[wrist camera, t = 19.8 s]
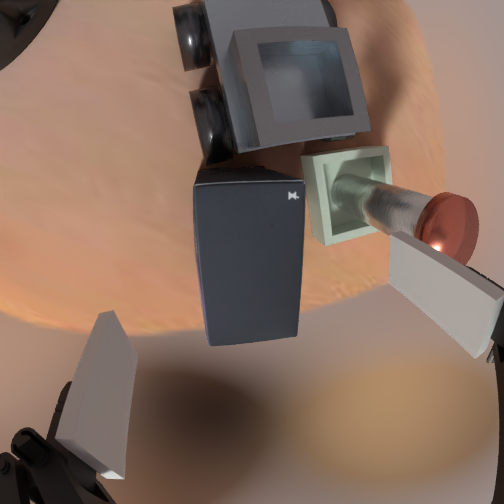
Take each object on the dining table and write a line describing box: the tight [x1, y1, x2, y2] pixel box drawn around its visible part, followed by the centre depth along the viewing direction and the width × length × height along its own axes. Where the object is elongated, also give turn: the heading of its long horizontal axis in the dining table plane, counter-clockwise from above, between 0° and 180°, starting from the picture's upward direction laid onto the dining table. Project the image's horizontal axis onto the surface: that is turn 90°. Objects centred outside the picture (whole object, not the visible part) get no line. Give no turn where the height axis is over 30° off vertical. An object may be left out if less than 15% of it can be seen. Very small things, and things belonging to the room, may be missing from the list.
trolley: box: [172, 0, 371, 166], centre depth 16 cm, size 14×12×11 cm
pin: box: [331, 174, 479, 265], centre depth 19 cm, size 5×5×14 cm
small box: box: [193, 166, 306, 346], centre depth 21 cm, size 11×6×10 cm, turn 1°
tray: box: [300, 145, 393, 246], centre depth 25 cm, size 8×8×3 cm
